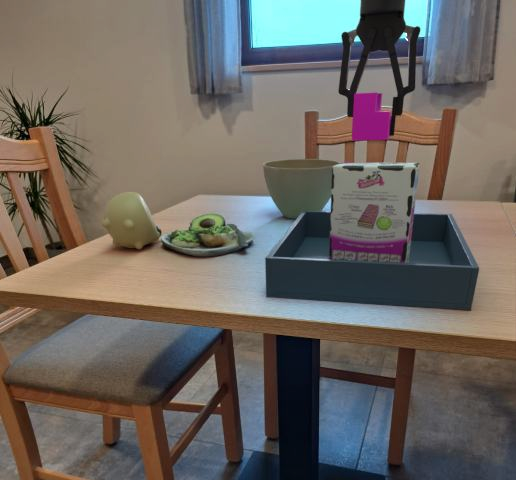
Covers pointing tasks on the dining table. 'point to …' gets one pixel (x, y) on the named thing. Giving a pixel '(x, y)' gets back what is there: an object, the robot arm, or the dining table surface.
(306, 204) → the flower pot
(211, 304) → the dining table surface
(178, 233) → the salad plate
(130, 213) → the toy pig
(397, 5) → the robot arm
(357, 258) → the candy bar box
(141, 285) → the dining table surface
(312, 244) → the bin
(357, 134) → the toy block
